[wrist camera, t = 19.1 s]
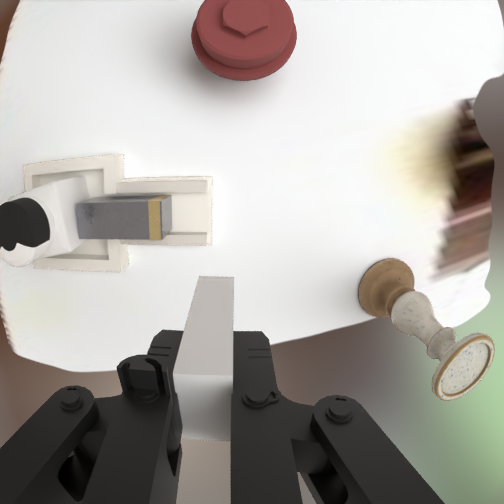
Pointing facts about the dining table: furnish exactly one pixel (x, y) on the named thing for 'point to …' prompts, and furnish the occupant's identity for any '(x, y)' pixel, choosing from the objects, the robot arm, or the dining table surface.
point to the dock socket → (114, 184)
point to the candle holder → (426, 328)
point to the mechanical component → (244, 37)
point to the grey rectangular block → (125, 217)
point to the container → (41, 222)
